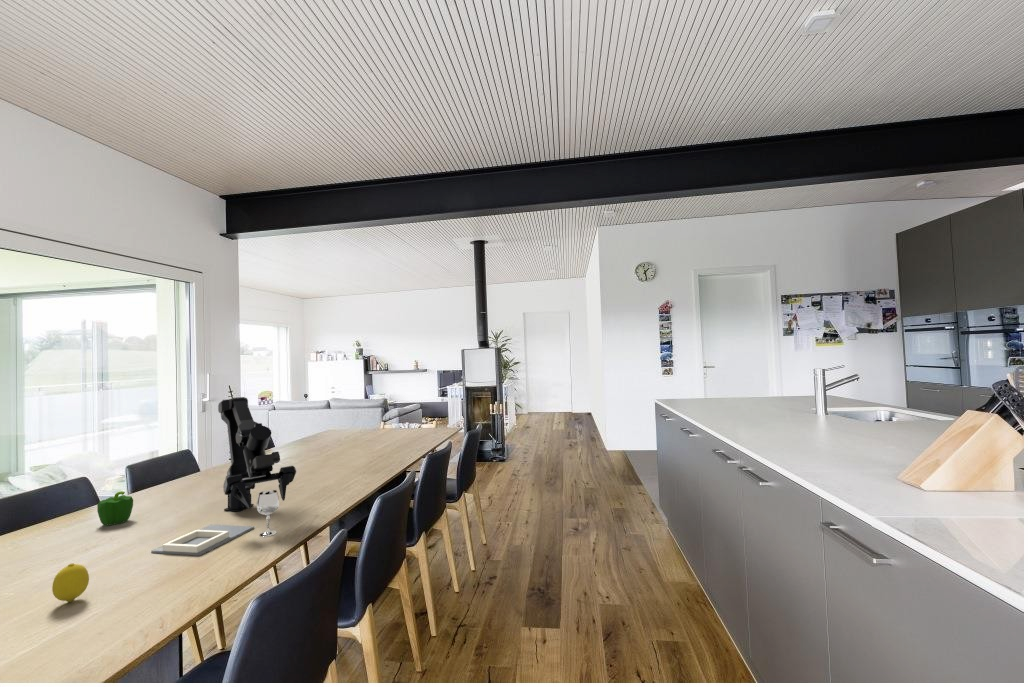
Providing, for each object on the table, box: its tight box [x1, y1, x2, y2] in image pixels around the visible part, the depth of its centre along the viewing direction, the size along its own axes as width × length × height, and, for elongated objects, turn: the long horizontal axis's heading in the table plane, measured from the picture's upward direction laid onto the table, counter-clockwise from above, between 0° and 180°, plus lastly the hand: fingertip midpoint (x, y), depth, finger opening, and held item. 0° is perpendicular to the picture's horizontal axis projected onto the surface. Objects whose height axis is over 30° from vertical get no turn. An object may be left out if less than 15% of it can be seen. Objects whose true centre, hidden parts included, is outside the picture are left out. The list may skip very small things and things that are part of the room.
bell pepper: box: [96, 490, 134, 526], centre depth 143 cm, size 8×8×10 cm
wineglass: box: [256, 489, 280, 538], centre depth 131 cm, size 6×6×12 cm
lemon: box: [51, 563, 90, 603], centre depth 95 cm, size 6×6×8 cm
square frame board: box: [151, 524, 255, 557], centre depth 127 cm, size 15×19×2 cm
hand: (267, 503), depth 132 cm, fingers open, 9 cm apart
